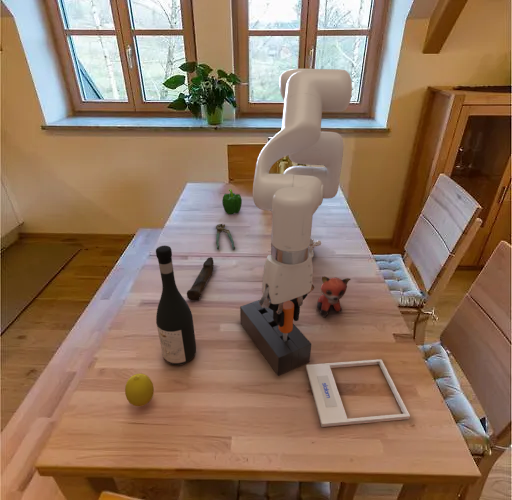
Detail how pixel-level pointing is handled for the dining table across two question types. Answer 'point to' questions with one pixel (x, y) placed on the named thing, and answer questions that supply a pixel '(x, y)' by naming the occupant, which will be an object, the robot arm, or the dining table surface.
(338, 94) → the robot arm
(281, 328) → the orange tool handle
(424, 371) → the dining table surface
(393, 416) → the photo frame
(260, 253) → the dining table surface
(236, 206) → the bell pepper
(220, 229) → the pliers
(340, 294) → the stuffed fox
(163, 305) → the wine bottle
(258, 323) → the rack
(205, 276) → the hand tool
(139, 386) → the lemon
